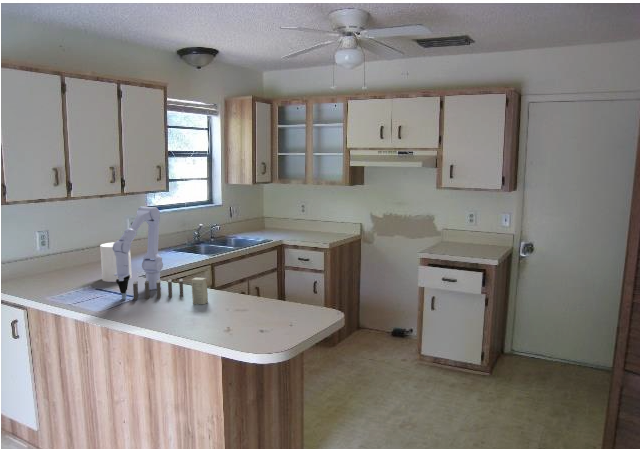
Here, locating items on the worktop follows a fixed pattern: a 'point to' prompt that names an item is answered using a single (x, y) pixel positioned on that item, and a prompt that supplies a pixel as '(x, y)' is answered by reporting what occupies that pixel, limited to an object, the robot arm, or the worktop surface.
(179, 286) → the domino
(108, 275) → the canister
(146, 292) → the domino
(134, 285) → the domino
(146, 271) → the robot arm
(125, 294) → the domino
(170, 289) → the domino
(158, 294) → the domino
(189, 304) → the worktop surface
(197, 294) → the skincare box
